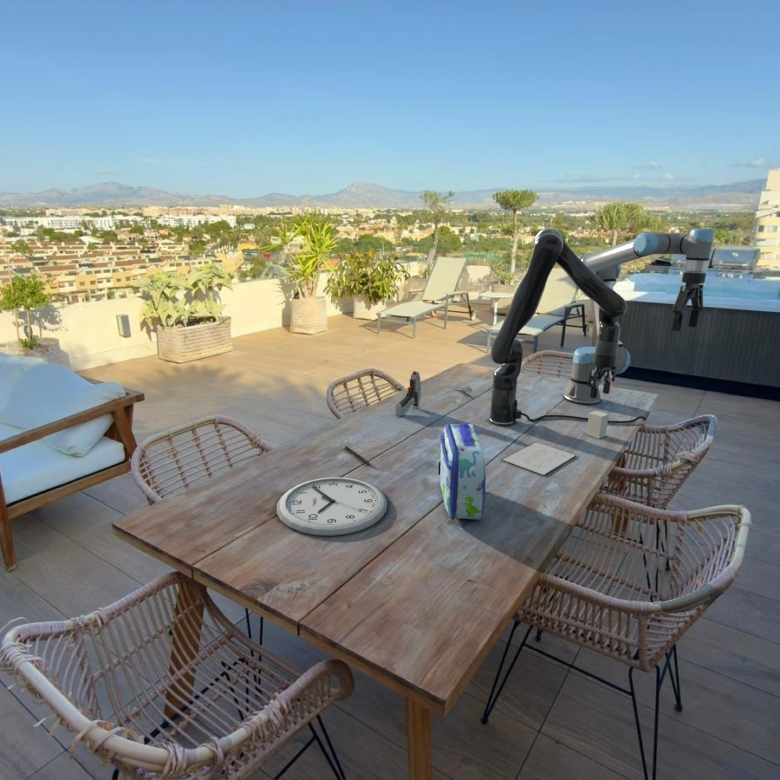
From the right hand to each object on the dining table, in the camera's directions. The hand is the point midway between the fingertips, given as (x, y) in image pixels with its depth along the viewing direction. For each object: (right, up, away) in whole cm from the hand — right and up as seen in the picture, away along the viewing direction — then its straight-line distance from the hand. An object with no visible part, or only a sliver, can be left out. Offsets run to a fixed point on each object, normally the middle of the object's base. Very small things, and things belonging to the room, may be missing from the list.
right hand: (684, 328), depth 200 cm
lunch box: (-93, -55, -54) cm, 121 cm away
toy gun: (-105, -32, +17) cm, 111 cm away
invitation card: (-63, -46, -25) cm, 82 cm away
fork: (-79, -25, +43) cm, 93 cm away
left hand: (-36, -25, -9) cm, 45 cm away
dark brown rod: (-124, -46, -27) cm, 134 cm away
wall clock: (-128, -55, -57) cm, 151 cm away
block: (-36, -40, -5) cm, 54 cm away
